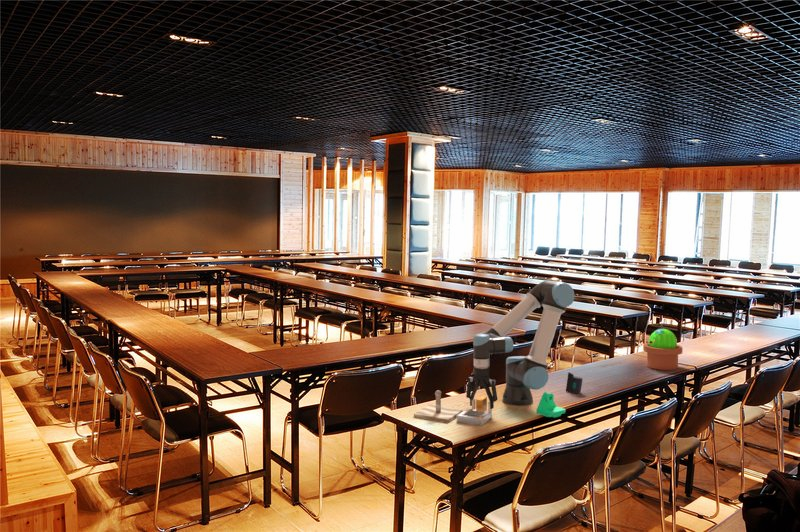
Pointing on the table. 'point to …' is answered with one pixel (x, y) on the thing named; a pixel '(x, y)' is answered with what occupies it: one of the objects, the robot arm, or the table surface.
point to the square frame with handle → (475, 413)
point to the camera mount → (549, 406)
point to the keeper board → (438, 416)
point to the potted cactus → (662, 350)
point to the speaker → (574, 383)
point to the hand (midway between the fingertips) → (481, 413)
